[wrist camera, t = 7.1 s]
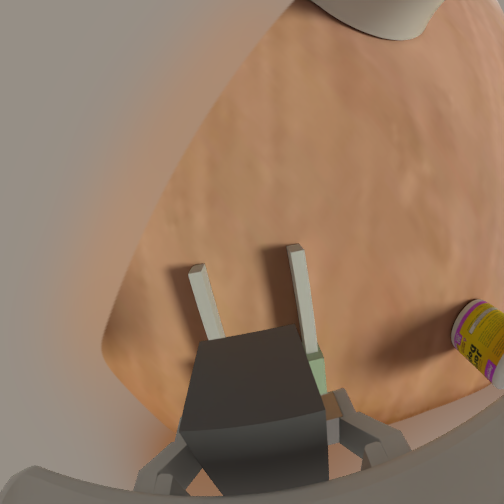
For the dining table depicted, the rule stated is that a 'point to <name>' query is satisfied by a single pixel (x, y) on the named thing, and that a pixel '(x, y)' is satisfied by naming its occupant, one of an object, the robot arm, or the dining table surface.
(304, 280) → the two-prong power plug
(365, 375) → the dining table surface
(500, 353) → the supplement bottle
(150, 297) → the dining table surface
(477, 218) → the dining table surface
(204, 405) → the grey rectangular block
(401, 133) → the dining table surface
